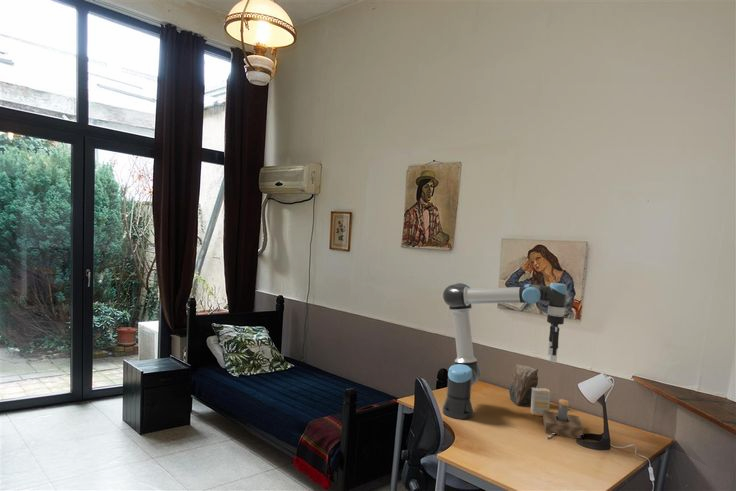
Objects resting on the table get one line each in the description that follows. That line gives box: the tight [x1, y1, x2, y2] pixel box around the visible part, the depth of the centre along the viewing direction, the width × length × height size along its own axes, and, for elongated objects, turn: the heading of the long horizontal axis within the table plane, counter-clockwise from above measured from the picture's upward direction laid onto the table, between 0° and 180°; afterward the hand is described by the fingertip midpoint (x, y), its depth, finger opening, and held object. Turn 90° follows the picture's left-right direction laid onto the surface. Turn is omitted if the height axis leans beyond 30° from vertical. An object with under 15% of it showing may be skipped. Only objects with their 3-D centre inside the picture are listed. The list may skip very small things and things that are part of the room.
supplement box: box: [530, 387, 551, 417], centre depth 235 cm, size 8×5×13 cm, turn 84°
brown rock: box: [508, 363, 539, 407], centre depth 252 cm, size 13×13×20 cm
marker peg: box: [557, 398, 569, 422], centre depth 217 cm, size 4×4×14 cm
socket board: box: [542, 410, 584, 439], centre depth 217 cm, size 16×16×5 cm
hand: (551, 358), depth 221 cm, fingers open, 13 cm apart
